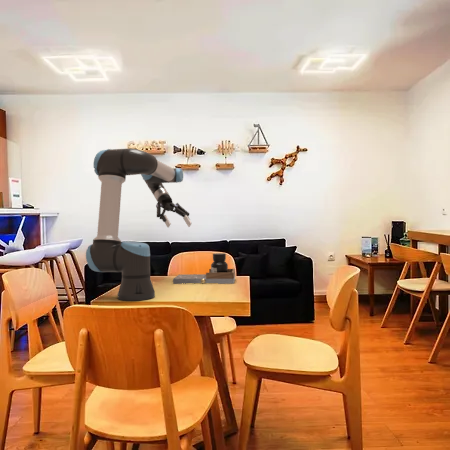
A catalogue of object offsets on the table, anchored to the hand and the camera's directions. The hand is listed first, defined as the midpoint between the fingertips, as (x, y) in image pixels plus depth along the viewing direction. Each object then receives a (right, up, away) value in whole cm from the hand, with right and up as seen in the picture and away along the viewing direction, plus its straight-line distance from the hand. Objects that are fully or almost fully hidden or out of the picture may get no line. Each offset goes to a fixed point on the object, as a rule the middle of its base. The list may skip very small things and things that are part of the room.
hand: (180, 225), depth 202 cm
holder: (+22, -27, 0) cm, 34 cm away
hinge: (+13, -29, +1) cm, 32 cm away
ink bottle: (+21, -27, +1) cm, 34 cm away
